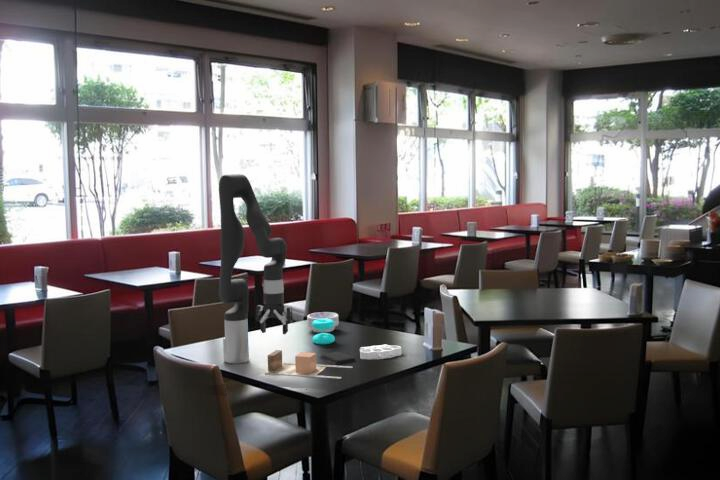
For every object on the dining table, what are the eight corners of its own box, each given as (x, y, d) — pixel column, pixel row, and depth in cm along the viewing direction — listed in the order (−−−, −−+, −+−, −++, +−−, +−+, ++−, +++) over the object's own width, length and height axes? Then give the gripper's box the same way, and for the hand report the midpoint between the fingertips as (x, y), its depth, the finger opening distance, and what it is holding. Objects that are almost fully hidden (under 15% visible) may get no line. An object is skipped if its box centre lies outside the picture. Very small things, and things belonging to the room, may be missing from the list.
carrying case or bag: (360, 364, 257) (341, 357, 269) (360, 357, 257) (341, 349, 269) (337, 369, 251) (318, 361, 264) (337, 361, 251) (318, 353, 263)
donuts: (313, 318, 298) (335, 318, 298) (313, 339, 299) (335, 339, 299) (311, 322, 288) (333, 322, 288) (311, 345, 289) (334, 344, 289)
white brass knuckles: (391, 349, 280) (407, 357, 267) (352, 354, 273) (366, 363, 259) (390, 341, 280) (406, 349, 266) (352, 346, 272) (366, 354, 259)
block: (295, 372, 243) (295, 356, 242) (301, 367, 249) (301, 352, 248) (310, 373, 241) (310, 357, 241) (316, 368, 247) (316, 353, 247)
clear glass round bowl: (321, 336, 306) (320, 319, 306) (301, 331, 318) (300, 315, 317) (345, 330, 317) (345, 314, 316) (325, 326, 328) (325, 310, 327)
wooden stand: (265, 375, 243) (264, 356, 243) (278, 366, 255) (277, 348, 254) (315, 378, 238) (315, 359, 237) (326, 369, 249) (326, 351, 249)
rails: (268, 377, 241) (268, 373, 241) (284, 366, 256) (284, 362, 256) (340, 382, 233) (340, 377, 233) (352, 370, 248) (352, 366, 248)
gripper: (251, 291, 244) (252, 334, 246) (287, 293, 241) (288, 336, 242) (260, 288, 252) (261, 329, 253) (294, 290, 248) (295, 332, 249)
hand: (274, 333), depth 248 cm, fingers open, 8 cm apart
